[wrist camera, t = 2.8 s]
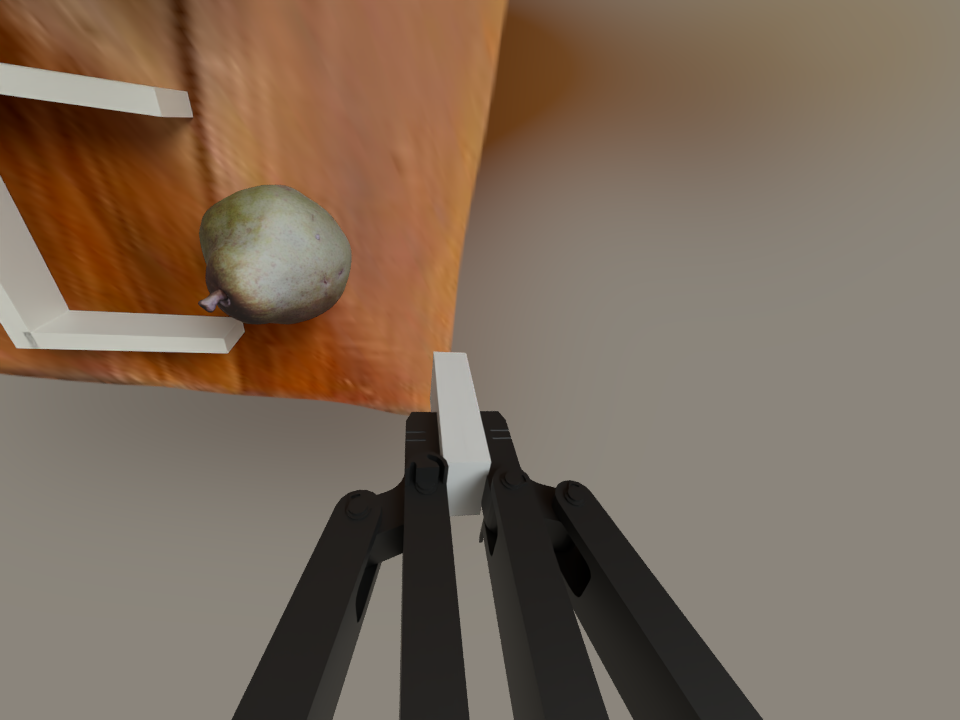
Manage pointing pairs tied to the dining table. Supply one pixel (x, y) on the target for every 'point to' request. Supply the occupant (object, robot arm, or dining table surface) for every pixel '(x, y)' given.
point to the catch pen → (27, 280)
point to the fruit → (272, 256)
